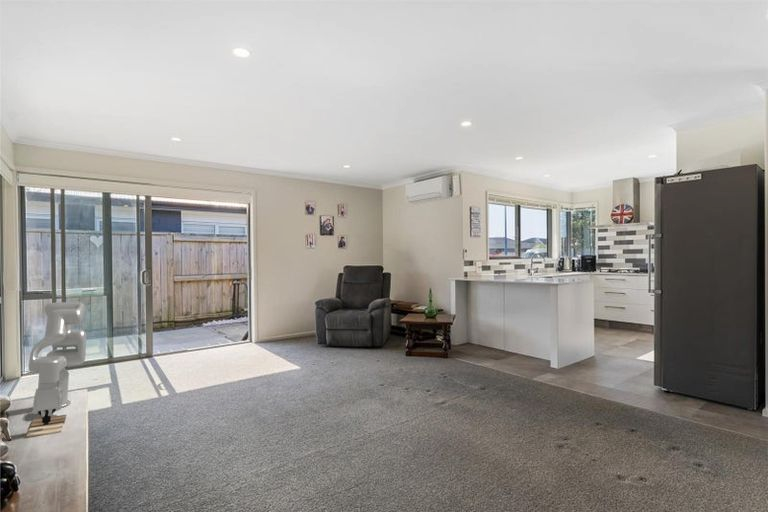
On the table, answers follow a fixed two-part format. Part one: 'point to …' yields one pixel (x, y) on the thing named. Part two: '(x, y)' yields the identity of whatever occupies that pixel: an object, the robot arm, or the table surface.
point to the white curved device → (52, 414)
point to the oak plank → (44, 430)
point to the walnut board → (53, 421)
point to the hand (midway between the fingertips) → (46, 423)
